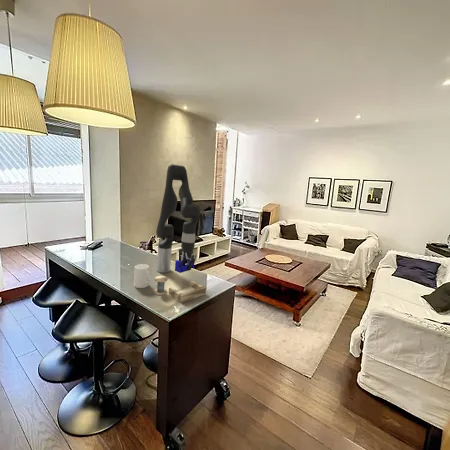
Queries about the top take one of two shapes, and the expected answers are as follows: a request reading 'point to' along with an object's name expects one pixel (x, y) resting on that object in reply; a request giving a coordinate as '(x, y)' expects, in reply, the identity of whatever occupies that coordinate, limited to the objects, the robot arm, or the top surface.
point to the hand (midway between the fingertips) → (186, 268)
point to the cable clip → (181, 268)
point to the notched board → (187, 292)
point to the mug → (141, 276)
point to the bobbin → (160, 285)
